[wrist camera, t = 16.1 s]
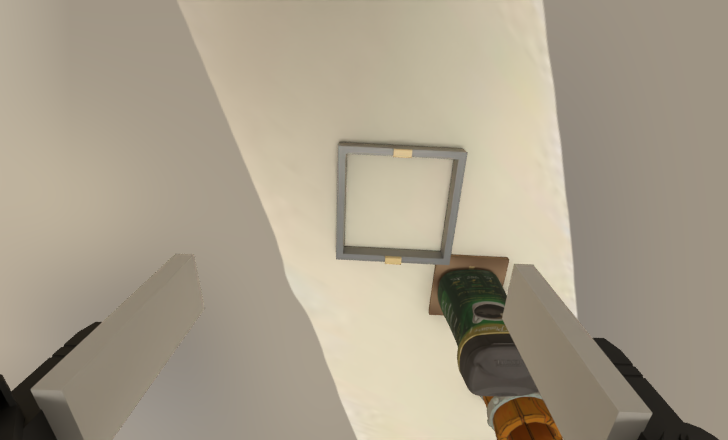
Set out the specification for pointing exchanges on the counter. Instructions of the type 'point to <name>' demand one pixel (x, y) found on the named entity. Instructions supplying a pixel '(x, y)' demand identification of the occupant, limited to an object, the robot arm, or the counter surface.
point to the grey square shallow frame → (401, 254)
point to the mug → (521, 418)
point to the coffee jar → (483, 334)
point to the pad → (461, 263)
